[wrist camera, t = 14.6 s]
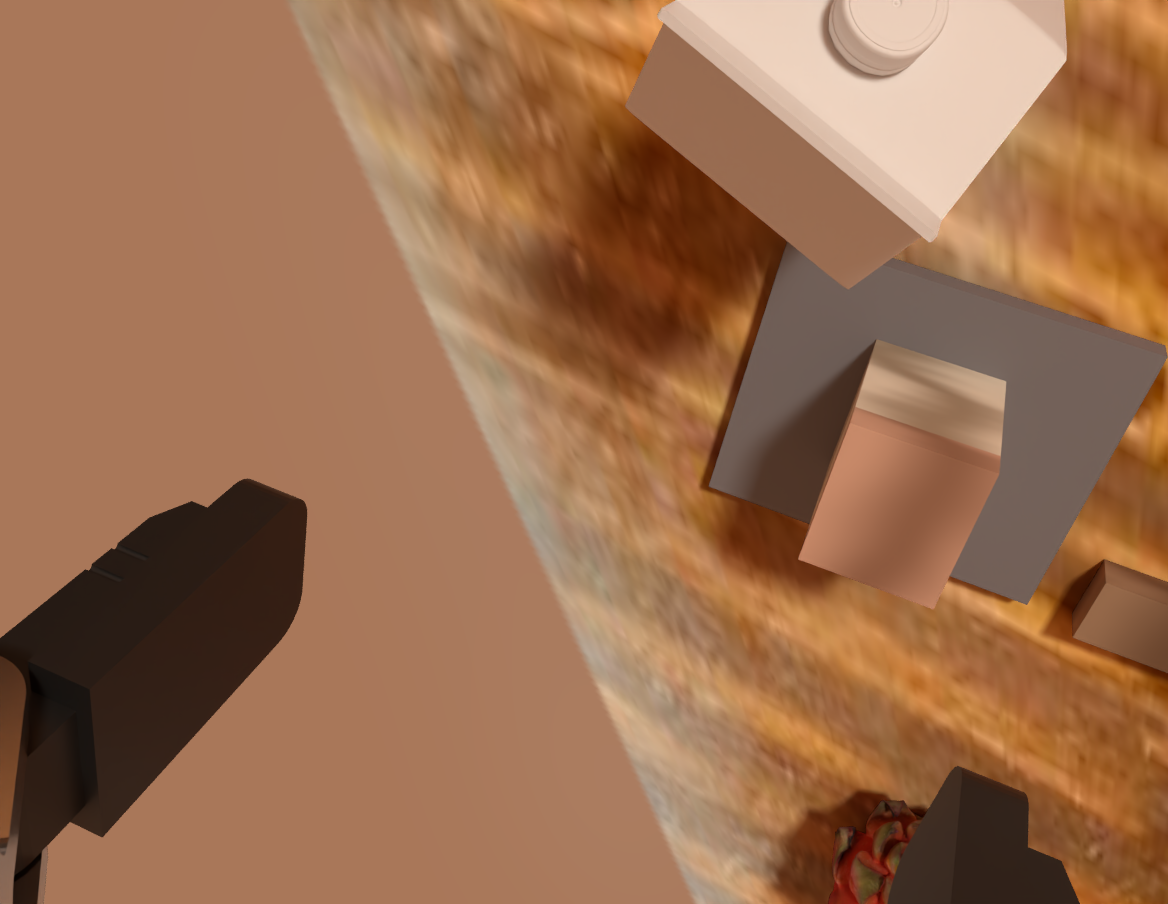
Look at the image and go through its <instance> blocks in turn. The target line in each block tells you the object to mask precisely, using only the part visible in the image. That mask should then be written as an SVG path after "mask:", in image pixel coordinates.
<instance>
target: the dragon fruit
mask: <svg viewBox="0 0 1168 904" xmlns="http://www.w3.org/2000/svg"><path fill="white" fill-rule="evenodd" d="M922 820H923V817H919V816H918V815H916V814H913V813H912V812H911V811H910V809H909V808H908V807H907V805H906V803H905V802H904V800H903V801H885V800H882V801H881V802H880V803H879V805H878V806H877V807H876V808H875V810H874V811H873V812H872V814H871V815H870V817H869V819H868V821H867V823H866V834H865V833H862V832H860V831H856V828H855V827H853V826H852V827H839V828H838V830H837V832H836V834H835V841H834V849H833V850H834V852H833V861H832V873H833V878H834V880H835V883H834V890H833V892H832V893H831V894H830V897H829V901H828V904H887V903H888V898H889V893H890V890H891V886H892V882H893V879H894V876H895V873H896V870H897V867H898V865H899V862H900V860H901V857H902V855H903V853H904V851H905V849H906V847H907V845H908V844H909V842H910V840H911V838H912V837H913V835H914V833H915V832H916V830H917V828H918V826H919V825H920V823H921V821H922Z"/></svg>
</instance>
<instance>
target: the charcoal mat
mask: <svg viewBox="0 0 1168 904" xmlns="http://www.w3.org/2000/svg"><path fill="white" fill-rule="evenodd" d="M877 339H878V340H881V341H884V342H887V343H890V344H893V345H896V346H899V347H902V348H905V349H908V350H911V351H915V352H918V353H921V354H924V355H927V356H930V357H933V358H936V359H939V360H942V361H945V362H948V363H951V364H954V365H957V366H961V367H964V368H967V369H970V370H973V371H976V372H979V373H982V374H985V375H988V376H991V377H994V378H997V379H1000V380H1004V381H1006V393H1005V406H1004V419H1003V433H1002V446H1001V459H1000V472H999V476H998V478H997V480H996V482H995V484H994V486H993V488H992V490H991V492H990V494H989V496H988V498H987V500H986V502H985V505H984V507H983V509H982V511H981V513H980V515H979V517H978V519H977V521H976V523H975V525H974V527H973V529H972V531H971V533H970V535H969V537H968V539H967V541H966V543H965V546H964V548H963V550H962V552H961V554H960V556H959V558H958V560H957V562H956V564H955V566H954V568H953V570H952V572H951V574H950V576H951V577H953V578H956V579H959V580H962V581H964V582H967V583H970V584H972V585H975V586H978V587H980V588H983V589H986V590H988V591H991V592H994V593H997V594H999V595H1002V596H1005V597H1007V598H1010V599H1013V600H1015V601H1018V602H1021V603H1023V604H1026V605H1027V604H1028V602H1029V601H1030V599H1031V597H1032V595H1033V594H1034V592H1035V590H1036V588H1037V586H1038V585H1039V583H1040V581H1041V579H1042V578H1043V576H1044V574H1045V572H1046V571H1047V569H1048V567H1049V565H1050V564H1051V562H1052V560H1053V558H1054V556H1055V555H1056V553H1057V551H1058V549H1059V548H1060V546H1061V544H1062V542H1063V541H1064V539H1065V537H1066V535H1067V534H1068V532H1069V530H1070V528H1071V526H1072V525H1073V523H1074V521H1075V519H1076V518H1077V516H1078V514H1079V512H1080V511H1081V509H1082V507H1083V505H1084V504H1085V502H1086V500H1087V498H1088V497H1089V495H1090V493H1091V491H1092V489H1093V488H1094V486H1095V484H1096V482H1097V481H1098V479H1099V477H1100V475H1101V474H1102V472H1103V470H1104V468H1105V467H1106V465H1107V463H1108V461H1109V459H1110V458H1111V456H1112V454H1113V452H1114V451H1115V449H1116V447H1117V445H1118V444H1119V442H1120V440H1121V438H1122V437H1123V435H1124V433H1125V431H1126V429H1127V428H1128V426H1129V424H1130V422H1131V421H1132V419H1133V417H1134V415H1135V414H1136V412H1137V410H1138V408H1139V407H1140V405H1141V403H1142V401H1143V399H1144V398H1145V396H1146V394H1147V392H1148V391H1149V389H1150V387H1151V385H1152V384H1153V382H1154V380H1155V378H1156V377H1157V375H1158V373H1159V371H1160V370H1161V368H1162V366H1163V364H1164V362H1165V361H1166V359H1167V352H1166V347H1165V345H1162V344H1158V343H1155V342H1152V341H1149V340H1146V339H1143V338H1140V337H1137V336H1134V335H1130V334H1127V333H1124V332H1121V331H1118V330H1115V329H1112V328H1109V327H1106V326H1102V325H1099V324H1096V323H1093V322H1090V321H1087V320H1084V319H1081V318H1078V317H1074V316H1071V315H1068V314H1065V313H1062V312H1059V311H1056V310H1053V309H1050V308H1046V307H1043V306H1040V305H1037V304H1034V303H1031V302H1028V301H1025V300H1022V299H1018V298H1015V297H1012V296H1009V295H1006V294H1003V293H1000V292H997V291H993V290H990V289H987V288H984V287H981V286H978V285H975V284H972V283H969V282H965V281H962V280H959V279H956V278H953V277H950V276H947V275H944V274H941V273H937V272H934V271H931V270H928V269H925V268H922V267H919V266H916V265H913V264H909V263H906V262H903V261H900V260H897V259H894V258H891V259H890V260H889V261H887V262H886V263H885V264H883V265H882V266H880V267H879V268H878V269H876V270H875V271H873V272H872V273H871V274H869V275H868V276H867V277H865V278H864V279H862V280H861V281H860V282H858V283H857V284H856V285H854V286H853V287H851V288H850V289H846V288H845V287H843V286H842V285H841V284H839V283H838V282H837V281H835V280H834V279H833V278H832V277H830V276H829V275H828V274H827V273H825V272H824V271H823V270H822V269H820V268H819V267H818V266H817V265H816V264H814V263H813V262H812V261H811V260H809V259H808V258H807V257H806V256H805V255H803V254H802V253H801V252H800V251H799V250H797V249H796V248H795V247H794V246H792V245H791V244H790V243H789V242H788V241H787V244H786V247H785V250H784V253H783V256H782V259H781V262H780V265H779V269H778V272H777V275H776V278H775V281H774V284H773V287H772V290H771V293H770V297H769V300H768V303H767V306H766V309H765V312H764V315H763V318H762V322H761V325H760V328H759V331H758V334H757V337H756V340H755V343H754V346H753V350H752V353H751V356H750V359H749V362H748V365H747V368H746V371H745V375H744V378H743V381H742V384H741V387H740V390H739V393H738V396H737V399H736V403H735V406H734V409H733V412H732V415H731V418H730V421H729V424H728V428H727V431H726V434H725V437H724V440H723V443H722V446H721V449H720V452H719V456H718V459H717V462H716V465H715V468H714V471H713V474H712V477H711V481H710V484H709V487H711V488H714V489H717V490H719V491H722V492H725V493H727V494H730V495H733V496H735V497H738V498H741V499H744V500H746V501H749V502H752V503H754V504H757V505H760V506H762V507H765V508H768V509H770V510H773V511H776V512H779V513H781V514H784V515H787V516H789V517H792V518H795V519H797V520H800V521H803V522H805V523H808V524H810V522H811V519H812V515H813V512H814V509H815V506H816V503H817V500H818V497H819V494H820V491H821V488H822V485H823V482H824V479H825V476H826V473H827V470H828V467H829V464H830V461H831V459H832V456H833V453H834V451H835V448H836V446H837V443H838V440H839V438H840V435H841V432H842V430H843V427H844V424H845V422H846V419H847V417H848V414H849V411H850V409H851V406H852V403H853V401H854V398H855V395H856V393H857V390H858V387H859V385H860V382H861V380H862V377H863V374H864V372H865V369H866V366H867V364H868V361H869V358H870V356H871V353H872V351H873V348H874V345H875V343H876V340H877Z"/></svg>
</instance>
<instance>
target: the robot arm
mask: <svg viewBox="0 0 1168 904" xmlns="http://www.w3.org/2000/svg"><path fill="white" fill-rule="evenodd" d="M306 523H307V507H306V504H305V502H304V501H303V500H301V499H299V498H296V497H294V496H291V495H289V494H286V493H284V492H281V491H279V490H276V489H274V488H271V487H269V486H266V485H264V484H261V483H259V482H256V481H254V480H251V479H243V480H241V481H239V482H237V483H236V484H235V485H233V486H232V487H231V488H230V489H229V490H228V491H226V492H225V493H224V494H223V495H222V496H220V497H219V498H218V499H217V500H216V501H215V502H213V503H212V504H211V505H210V506H209V507H208V508H207V507H204V506H202V505H199V504H197V503H195V502H192V501H191V502H188V503H186V504H183V505H181V506H178V507H176V508H173V509H171V510H168V511H166V512H163V513H160V514H158V515H155V516H153V517H150V518H148V519H147V520H146V521H145V522H143V523H142V524H141V525H140V526H139V527H138V528H136V529H135V530H134V531H132V532H131V533H130V534H129V535H128V536H126V537H125V538H124V539H122V540H121V541H120V542H119V543H118V545H117V547H116V549H112V548H111V549H110V550H109V551H108V552H106V553H105V554H104V555H103V556H101V557H100V558H99V559H98V560H96V562H94V563H93V564H92V567H91V569H90V570H89V571H88V570H84V571H83V572H82V573H80V574H79V575H78V576H77V577H75V578H74V579H73V580H72V581H70V582H69V583H68V584H67V585H66V586H64V587H63V588H62V589H61V590H59V591H58V592H57V593H56V594H54V595H53V596H52V597H51V598H49V599H48V600H47V601H46V602H44V603H43V604H42V605H41V606H40V607H38V608H37V609H36V610H35V611H33V612H32V613H31V614H30V615H28V616H27V617H26V618H25V619H24V620H22V621H21V622H20V623H19V624H17V625H16V626H15V627H14V628H12V629H11V630H10V631H9V632H7V633H6V634H5V635H4V636H2V637H1V638H0V904H44V895H45V884H46V871H47V861H48V848H47V845H48V844H49V843H50V842H51V841H52V840H53V839H54V838H55V837H56V836H57V835H58V834H59V833H60V831H61V830H62V829H63V828H64V827H65V826H66V825H67V824H68V823H69V822H72V823H74V824H76V825H78V826H80V827H82V828H84V829H86V830H88V831H90V832H92V833H94V834H96V835H98V836H100V837H103V836H104V835H105V834H106V833H107V832H108V831H109V829H110V828H111V827H112V826H113V825H114V824H115V823H116V822H117V821H118V820H119V818H120V817H121V816H122V815H123V814H124V813H125V812H126V811H127V809H129V807H130V806H131V805H132V804H133V803H134V802H135V801H136V800H137V799H138V797H139V796H140V795H141V794H142V793H143V792H144V791H145V790H146V789H147V787H148V786H149V785H150V784H151V783H152V782H153V781H154V780H155V779H156V778H157V776H158V775H159V774H160V773H161V772H162V771H163V770H164V769H165V768H166V766H167V765H168V764H169V763H170V762H171V761H172V760H173V759H174V758H175V757H176V755H177V754H178V753H179V752H180V751H181V750H182V749H183V748H184V747H185V745H186V744H187V743H188V742H189V741H190V740H191V739H192V738H193V737H194V736H195V734H196V733H197V732H198V731H199V730H200V729H201V728H202V727H203V726H204V724H205V723H206V722H207V721H208V720H209V719H210V718H211V717H212V716H213V715H214V713H215V712H216V711H217V710H218V709H219V708H220V707H221V706H222V704H223V703H224V702H225V701H226V700H227V699H228V698H229V697H230V696H231V695H232V694H233V692H234V691H235V690H236V689H237V688H238V687H239V686H240V685H241V684H242V682H243V681H244V680H245V679H246V678H247V677H248V676H249V675H250V674H251V672H252V671H253V670H254V669H255V668H256V667H257V666H258V665H259V664H260V663H261V661H262V660H263V659H264V658H265V657H266V656H267V655H268V654H269V652H270V651H271V650H272V649H273V648H274V647H275V646H276V645H277V644H278V643H279V641H280V640H281V639H282V637H283V636H284V635H285V634H286V632H287V630H288V629H289V627H290V625H291V623H292V622H293V620H294V617H295V615H296V613H297V610H298V607H299V604H300V600H301V595H302V586H303V571H304V556H305V555H304V554H305V540H306V525H307V524H306ZM1028 811H1029V807H1028V798H1027V795H1026V794H1025V793H1024V792H1021V791H1019V790H1016V789H1014V788H1012V787H1009V786H1007V785H1004V784H1002V783H999V782H997V781H994V780H992V779H989V778H987V777H984V776H982V775H979V774H977V773H974V772H972V771H969V770H967V769H964V768H962V767H959V766H957V767H955V768H954V769H953V770H952V771H951V772H950V774H949V775H948V777H947V778H946V780H945V782H944V784H943V785H942V787H941V789H940V790H939V792H938V794H937V796H936V797H935V799H934V801H933V802H932V804H931V806H930V808H929V809H928V811H927V813H926V814H925V816H924V818H923V820H922V821H921V823H920V825H919V826H918V828H917V830H916V832H915V833H914V835H913V837H912V838H911V840H910V842H909V844H908V845H907V847H906V849H905V851H904V853H903V855H902V857H901V860H900V862H899V865H898V867H897V870H896V873H895V876H894V879H893V882H892V886H891V890H890V893H889V898H888V903H887V904H1080V903H1079V901H1078V898H1077V896H1076V894H1075V891H1074V889H1073V887H1072V884H1071V882H1070V880H1069V878H1068V875H1067V873H1066V871H1065V868H1064V866H1063V864H1062V861H1060V860H1058V859H1055V858H1053V857H1050V856H1048V855H1045V854H1043V853H1041V852H1038V851H1036V850H1033V849H1031V848H1028Z"/></svg>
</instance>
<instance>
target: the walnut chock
mask: <svg viewBox="0 0 1168 904" xmlns="http://www.w3.org/2000/svg"><path fill="white" fill-rule="evenodd" d="M1072 631H1073V638H1075V639H1078V640H1080V641H1083V642H1086V643H1088V644H1091V645H1094V646H1096V647H1099V648H1102V649H1104V650H1107V651H1110V652H1112V653H1115V654H1118V655H1120V656H1123V657H1126V658H1128V659H1131V660H1134V661H1137V662H1139V663H1142V664H1145V665H1147V666H1150V667H1153V668H1155V669H1158V670H1161V671H1163V672H1166V673H1168V582H1165V581H1163V580H1160V579H1157V578H1154V577H1152V576H1149V575H1146V574H1143V573H1140V572H1138V571H1135V570H1132V569H1129V568H1127V567H1124V566H1121V565H1118V564H1115V563H1113V562H1110V561H1107V560H1104V561H1103V563H1102V564H1101V566H1100V568H1099V569H1098V571H1097V573H1096V574H1095V576H1094V578H1093V579H1092V581H1091V583H1090V584H1089V586H1088V588H1087V589H1086V591H1085V593H1084V594H1083V596H1082V598H1081V599H1080V601H1079V603H1078V604H1077V606H1076V608H1075V609H1074V611H1073V613H1072Z"/></svg>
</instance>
